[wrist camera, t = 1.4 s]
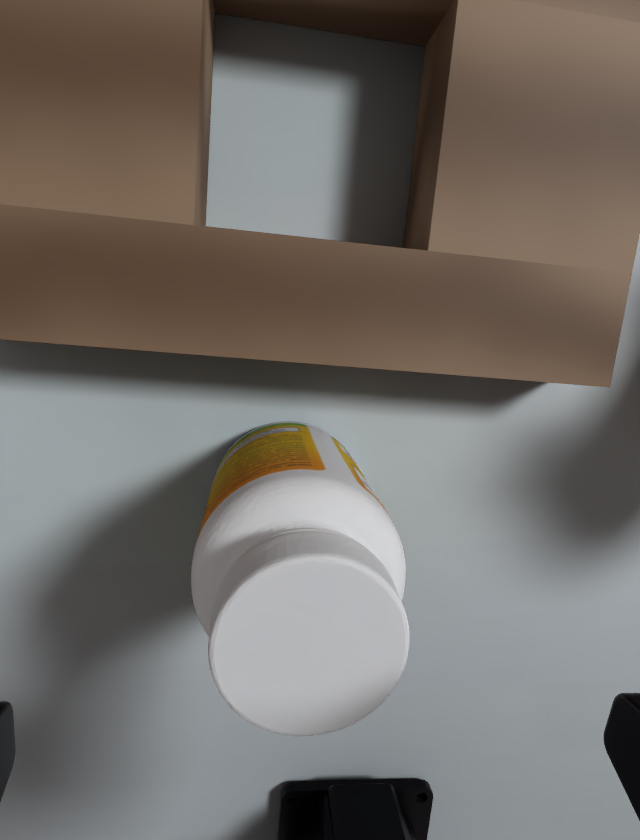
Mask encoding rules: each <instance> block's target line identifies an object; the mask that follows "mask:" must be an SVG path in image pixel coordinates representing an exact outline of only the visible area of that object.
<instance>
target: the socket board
mask: <svg viewBox="0 0 640 840" xmlns="http://www.w3.org/2000/svg"><path fill="white" fill-rule="evenodd" d="M215 13H219V14H226V15H232V16H238V17H244V18H251V19H257V20H263V21H269V22H275V23H282V24H288V25H294V26H300V27H307V28H313V29H319V30H325V31H332V32H338V33H344V34H350V35H357V36H363V37H369V38H375V39H381V40H388V41H394V42H400V43H406V44H413V45H419V46H425V55H424V64H423V73H422V82H421V90H420V99H419V108H418V117H417V126H416V135H415V144H414V153H413V162H412V171H411V180H410V189H409V197H408V206H407V215H406V224H405V233H404V242H403V248H399V247H390V246H380V245H371V244H362V243H353V242H344V241H335V240H326V239H316V238H307V237H298V236H289V235H280V234H271V233H261V232H252V231H243V230H234V229H225V228H216V227H207V226H206V204H207V182H208V159H209V137H210V114H211V91H212V69H213V46H214V24H215ZM639 233H640V0H0V339H3V340H16V341H28V342H41V343H54V344H66V345H79V346H92V347H105V348H117V349H130V350H143V351H155V352H168V353H181V354H194V355H206V356H219V357H232V358H245V359H257V360H270V361H283V362H295V363H308V364H321V365H334V366H346V367H359V368H372V369H384V370H397V371H410V372H423V373H435V374H448V375H461V376H474V377H486V378H499V379H512V380H524V381H537V382H550V383H563V384H575V385H588V386H601V387H610V384H611V379H612V374H613V369H614V363H615V358H616V353H617V348H618V343H619V337H620V332H621V327H622V322H623V317H624V311H625V306H626V301H627V296H628V291H629V285H630V280H631V275H632V270H633V265H634V259H635V254H636V249H637V244H638V239H639Z"/></svg>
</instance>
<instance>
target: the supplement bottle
mask: <svg viewBox="0 0 640 840" xmlns="http://www.w3.org/2000/svg"><path fill="white" fill-rule="evenodd" d="M405 576H406V567H405V557H404V551H403V547H402V544H401V540H400V538H399V535H398V533H397V530H396V528H395V526H394V524H393V522H392V520H391V518H390V516H389V515H388V513H387V511H386V510H385V508H384V507H383V505H382V504H381V502H380V501H379V499H378V498H377V496H376V495H375V493H374V492H373V490H372V488H371V487H370V485H369V484H368V482H367V481H366V479H365V478H364V476H363V474H362V473H361V471H360V470H359V468H358V466H357V465H356V463H355V462H354V460H353V459H352V457H351V456H350V454H349V453H348V452H347V450H346V449H345V448H344V447H343V446H342V445H341V444H340V442H339V441H337V440H336V439H335V438H334V437H333V436H331V435H330V434H329V433H327V432H325V431H324V430H322V429H320V428H318V427H315V426H312V425H309V424H306V423H301V422H276V423H270V424H267V425H263V426H260V427H258V428H256V429H254V430H252V431H250V432H248V433H247V434H245V435H244V436H242V437H241V438H240V439H239V440H237V441H236V442H235V443H234V444H233V445H232V446H231V448H230V449H229V450H228V451H227V453H226V454H225V456H224V457H223V459H222V461H221V462H220V464H219V467H218V469H217V472H216V474H215V477H214V480H213V483H212V487H211V491H210V495H209V499H208V502H207V506H206V510H205V513H204V517H203V521H202V524H201V528H200V531H199V535H198V539H197V542H196V546H195V549H194V555H193V561H192V570H191V589H192V597H193V603H194V607H195V610H196V613H197V615H198V618H199V620H200V622H201V624H202V626H203V628H204V630H205V631H206V633H207V635H208V636H209V643H208V656H209V664H210V670H211V673H212V676H213V680H214V682H215V684H216V686H217V688H218V690H219V692H220V694H221V695H222V697H223V698H224V700H225V701H226V702H227V703H228V704H229V706H230V707H231V708H232V709H233V710H234V711H235V712H236V713H238V714H239V715H240V716H242V717H243V718H244V719H246V720H247V721H249V722H250V723H252V724H254V725H256V726H258V727H260V728H263V729H265V730H267V731H271V732H275V733H279V734H284V735H291V736H313V735H320V734H325V733H330V732H333V731H336V730H340V729H343V728H345V727H347V726H349V725H352V724H354V723H356V722H358V721H359V720H361V719H362V718H364V717H365V716H367V715H368V714H370V713H371V712H372V711H374V710H375V709H376V708H377V707H378V706H379V705H380V704H382V703H383V701H384V700H385V699H386V698H387V697H388V696H389V695H390V693H391V692H392V690H393V689H394V687H395V686H396V684H397V683H398V681H399V679H400V677H401V675H402V672H403V670H404V667H405V664H406V661H407V656H408V650H409V639H410V637H409V626H408V620H407V616H406V612H405V609H404V607H403V604H402V602H401V601H402V598H403V594H404V587H405Z"/></svg>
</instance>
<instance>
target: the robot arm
mask: <svg viewBox="0 0 640 840" xmlns="http://www.w3.org/2000/svg"><path fill="white" fill-rule="evenodd" d="M604 745H605V748H606V751H607V754H608V756H609V758H610V760H611V762H612V764H613V766H614V768H615V770H616V772H617V774H618V777H619V779H620V781H621V783H622V785H623V787H624V789H625V791H626V793H627V795H628V797H629V800H630V802H631V804H632V806H633V808H634V810H635V812H636V814H637V816H638V818H639V820H640V693H621V694H618V695H617V696H616V697H615V699H614V701H613V704H612V707H611V711H610V714H609V717H608V721H607V724H606V727H605V731H604ZM14 758H15V734H14V719H13V708H12V706H11V704H10V703H9V702H6V701H0V801H1V799H2V796H3V793H4V790H5V787H6V784H7V782H8V779H9V776H10V773H11V770H12V767H13V763H14ZM419 793H422V794H419ZM292 796H296V797H294V798H290V797H292ZM432 801H433V793H432V790H431V787H430V785H429V783H428V782H427V781H425V780H384V781H341V782H298V783H289V784H287V785H286V786H284V788H283V789H282V791H281V798H280V809H279V821H278V832H277V840H427V834H428V828H429V821H430V814H431V808H432Z"/></svg>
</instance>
